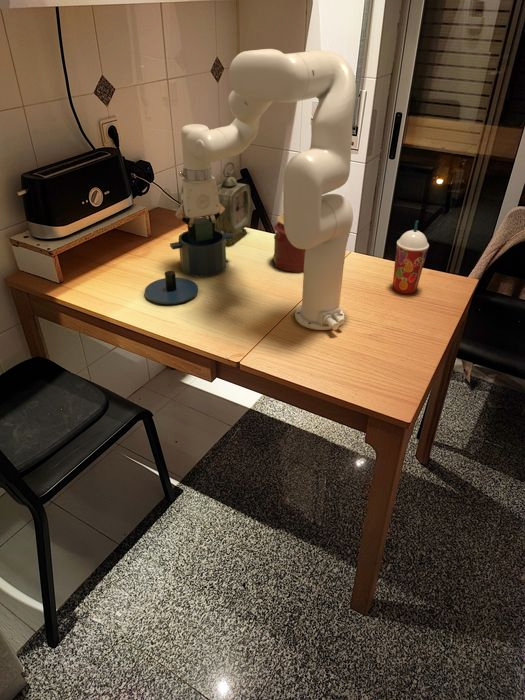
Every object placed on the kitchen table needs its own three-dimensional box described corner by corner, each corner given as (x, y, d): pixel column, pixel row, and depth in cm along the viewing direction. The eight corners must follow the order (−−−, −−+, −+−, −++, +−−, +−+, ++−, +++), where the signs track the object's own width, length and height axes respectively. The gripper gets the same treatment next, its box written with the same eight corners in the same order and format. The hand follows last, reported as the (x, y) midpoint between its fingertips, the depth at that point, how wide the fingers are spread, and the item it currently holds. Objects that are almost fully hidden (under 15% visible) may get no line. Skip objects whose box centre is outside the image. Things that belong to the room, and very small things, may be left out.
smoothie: (424, 288, 147) (439, 220, 135) (409, 299, 142) (423, 229, 130) (399, 279, 151) (410, 213, 140) (383, 289, 146) (394, 221, 135)
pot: (241, 269, 156) (241, 239, 150) (181, 282, 149) (178, 251, 143) (223, 252, 166) (222, 224, 160) (166, 263, 159) (163, 234, 153)
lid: (206, 299, 141) (204, 278, 137) (154, 310, 135) (151, 289, 132) (187, 277, 151) (186, 257, 148) (139, 287, 146) (136, 267, 143)
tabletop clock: (231, 248, 169) (229, 170, 154) (207, 243, 172) (203, 166, 158) (251, 232, 180) (250, 158, 165) (228, 228, 183) (225, 155, 168)
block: (212, 238, 151) (212, 222, 148) (196, 241, 149) (195, 225, 146) (206, 232, 155) (205, 216, 152) (190, 235, 153) (189, 219, 150)
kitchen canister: (324, 266, 158) (328, 209, 148) (290, 276, 152) (292, 218, 142) (298, 251, 167) (301, 197, 157) (265, 260, 161) (265, 205, 151)
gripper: (172, 181, 136) (178, 246, 146) (232, 173, 142) (233, 236, 152) (163, 173, 141) (169, 236, 151) (221, 166, 147) (223, 227, 158)
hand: (201, 235), depth 152 cm, fingers closed on block, 5 cm apart
